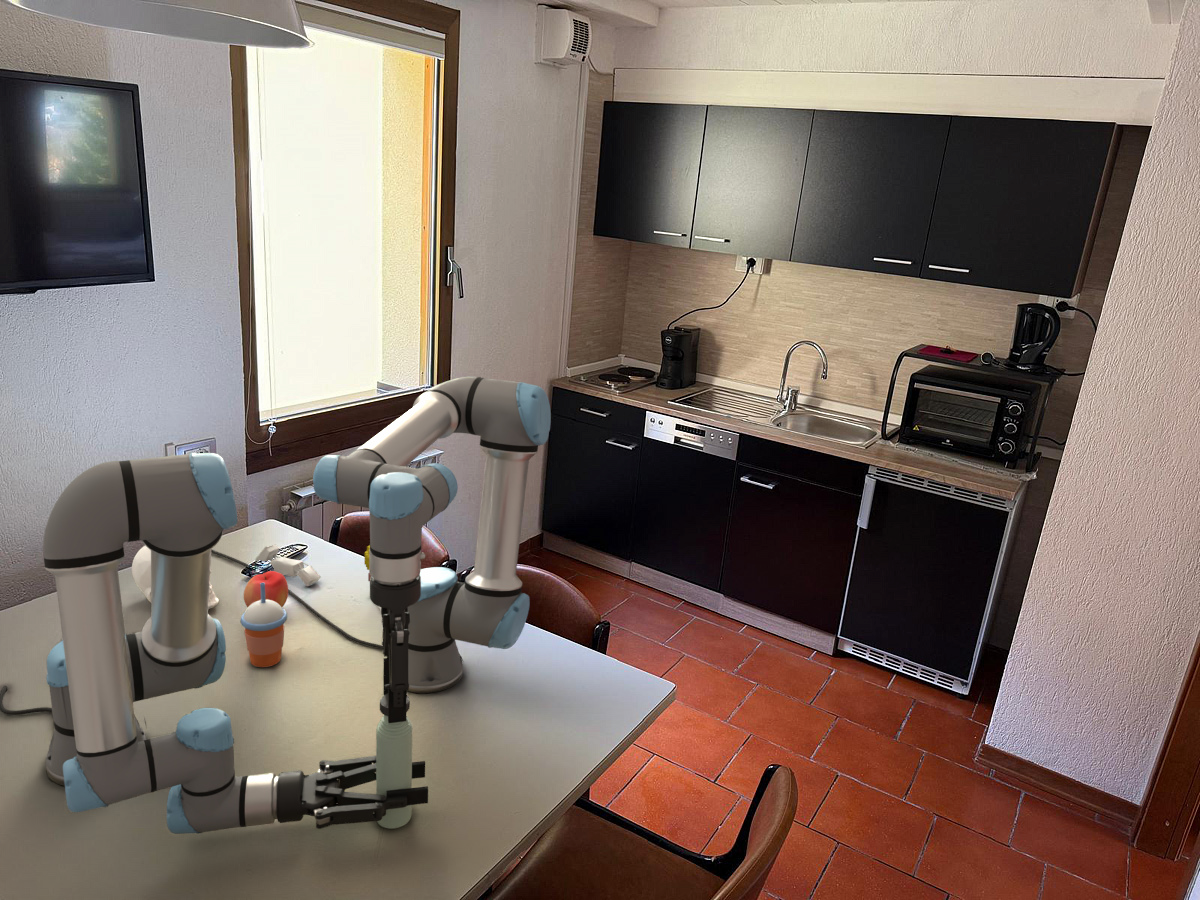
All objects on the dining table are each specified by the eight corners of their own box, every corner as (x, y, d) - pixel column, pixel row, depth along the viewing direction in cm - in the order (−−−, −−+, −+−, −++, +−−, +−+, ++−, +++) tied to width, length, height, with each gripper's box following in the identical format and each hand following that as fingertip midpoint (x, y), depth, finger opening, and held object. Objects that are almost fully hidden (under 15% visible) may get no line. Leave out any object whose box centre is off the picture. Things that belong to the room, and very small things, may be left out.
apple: (273, 600, 207) (272, 562, 204) (297, 613, 202) (296, 575, 199) (237, 614, 200) (234, 575, 197) (261, 628, 194) (259, 588, 191)
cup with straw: (273, 674, 177) (270, 596, 172) (233, 667, 179) (229, 589, 174) (296, 652, 186) (294, 577, 181) (258, 645, 188) (255, 571, 182)
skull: (197, 623, 194) (195, 558, 190) (119, 603, 200) (115, 540, 196) (237, 600, 207) (236, 539, 203) (163, 582, 212) (160, 522, 208)
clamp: (253, 565, 223) (254, 542, 221) (265, 560, 226) (266, 537, 224) (309, 593, 215) (310, 569, 213) (320, 588, 218) (321, 564, 216)
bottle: (402, 831, 138) (404, 717, 132) (370, 824, 139) (370, 711, 133) (416, 808, 144) (418, 697, 137) (385, 801, 145) (385, 691, 138)
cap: (414, 711, 135) (414, 702, 135) (387, 720, 132) (387, 711, 132) (401, 697, 139) (401, 688, 138) (374, 705, 136) (374, 697, 135)
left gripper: (282, 778, 145) (422, 764, 151) (272, 861, 127) (430, 841, 134) (281, 741, 142) (423, 728, 149) (270, 819, 125) (431, 801, 131)
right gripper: (430, 603, 121) (427, 741, 128) (412, 547, 139) (410, 671, 145) (375, 608, 118) (375, 748, 125) (364, 550, 136) (365, 676, 143)
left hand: (426, 781), depth 141 cm, fingers closed on bottle, 6 cm apart
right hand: (394, 706), depth 135 cm, fingers open, 7 cm apart
